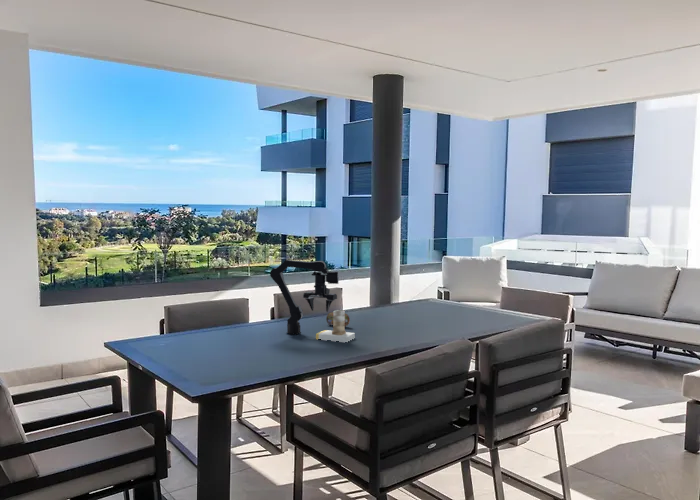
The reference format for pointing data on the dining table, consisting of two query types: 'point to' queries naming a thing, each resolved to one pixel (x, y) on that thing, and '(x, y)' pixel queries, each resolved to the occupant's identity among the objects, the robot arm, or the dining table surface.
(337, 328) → the beige tall block
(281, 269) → the robot arm
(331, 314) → the tin
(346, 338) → the dock
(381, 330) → the dining table surface
